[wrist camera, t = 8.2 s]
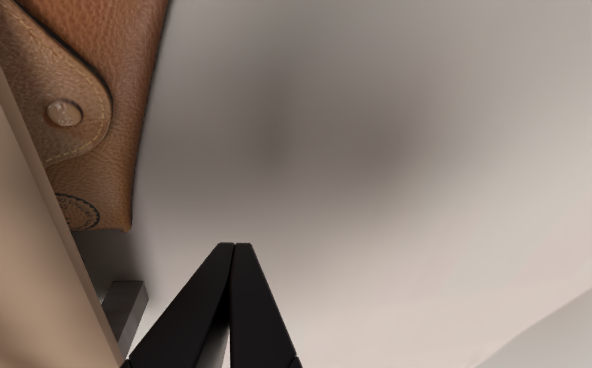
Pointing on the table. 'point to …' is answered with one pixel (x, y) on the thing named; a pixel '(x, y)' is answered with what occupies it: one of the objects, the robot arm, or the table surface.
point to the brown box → (50, 271)
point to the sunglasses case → (83, 96)
